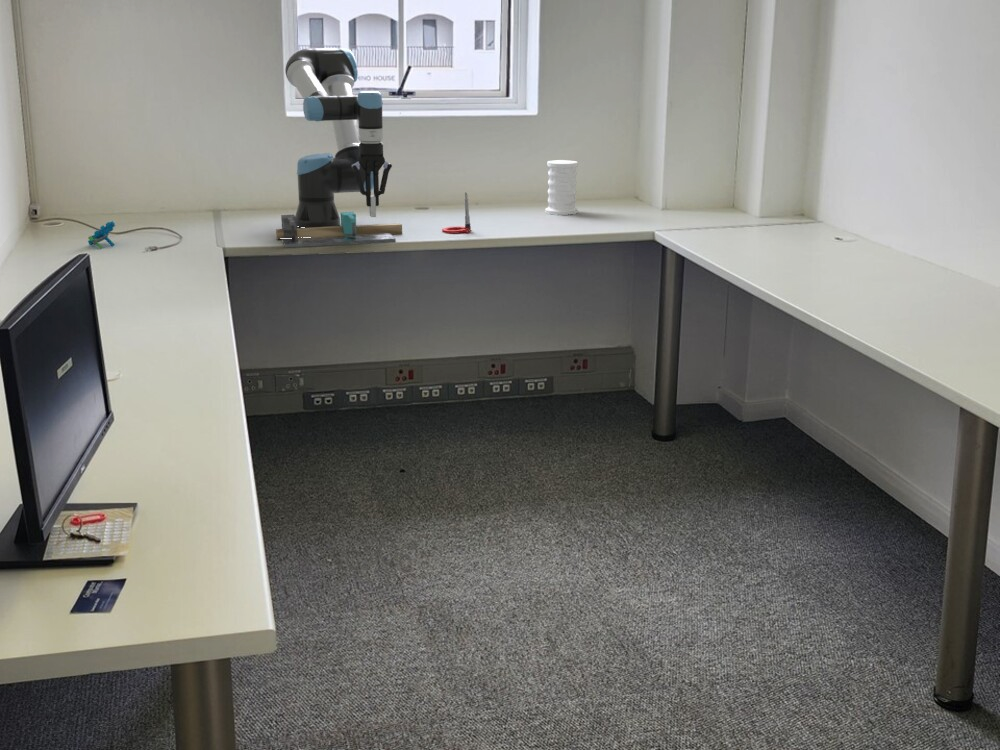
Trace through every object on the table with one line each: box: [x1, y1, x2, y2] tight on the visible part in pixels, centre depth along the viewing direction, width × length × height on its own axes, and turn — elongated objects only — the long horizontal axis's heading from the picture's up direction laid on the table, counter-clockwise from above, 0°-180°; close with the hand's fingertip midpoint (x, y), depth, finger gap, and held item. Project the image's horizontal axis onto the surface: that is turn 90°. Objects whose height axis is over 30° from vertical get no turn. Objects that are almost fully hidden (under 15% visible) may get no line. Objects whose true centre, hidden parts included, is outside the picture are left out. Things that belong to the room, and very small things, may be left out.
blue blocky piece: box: [87, 220, 116, 250], centre depth 343 cm, size 11×6×10 cm
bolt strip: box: [281, 233, 397, 249], centre depth 351 cm, size 9×34×1 cm, turn 107°
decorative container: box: [544, 159, 579, 216], centre depth 403 cm, size 12×12×18 cm
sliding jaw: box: [340, 211, 357, 237], centre depth 357 cm, size 12×4×6 cm, turn 17°
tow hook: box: [441, 191, 472, 234], centre depth 368 cm, size 8×13×9 cm
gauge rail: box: [275, 214, 403, 240], centre depth 356 cm, size 12×40×7 cm, turn 107°
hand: (372, 216), depth 362 cm, fingers closed
